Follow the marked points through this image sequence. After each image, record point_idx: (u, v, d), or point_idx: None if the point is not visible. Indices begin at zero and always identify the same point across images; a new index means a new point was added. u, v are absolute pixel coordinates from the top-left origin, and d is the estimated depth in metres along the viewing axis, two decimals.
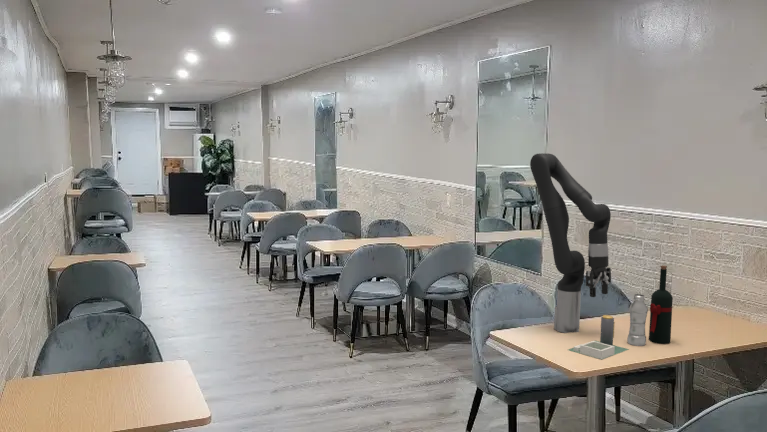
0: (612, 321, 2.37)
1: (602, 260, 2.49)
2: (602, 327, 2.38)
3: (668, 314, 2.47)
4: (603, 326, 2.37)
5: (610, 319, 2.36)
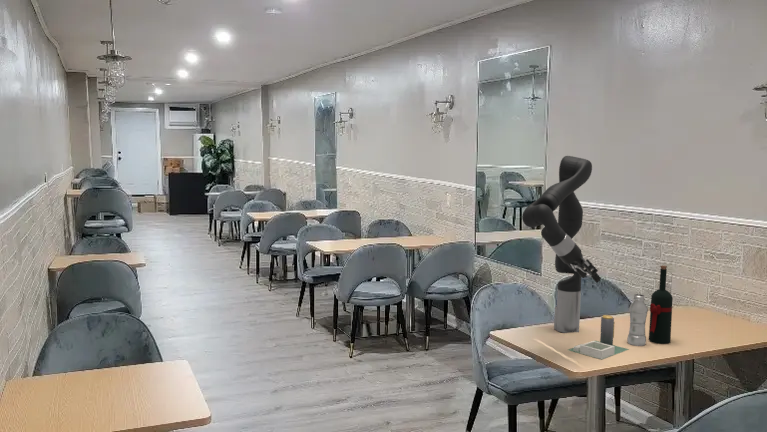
0: (612, 321, 2.37)
1: None
2: (602, 327, 2.38)
3: (668, 314, 2.47)
4: (603, 326, 2.37)
5: (610, 319, 2.36)
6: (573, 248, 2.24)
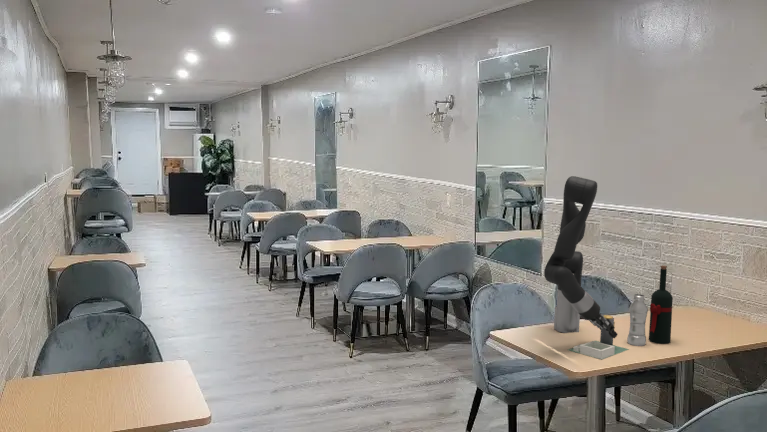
0: (612, 321, 2.37)
1: None
2: None
3: (668, 314, 2.47)
4: None
5: (610, 319, 2.36)
6: (592, 305, 2.32)
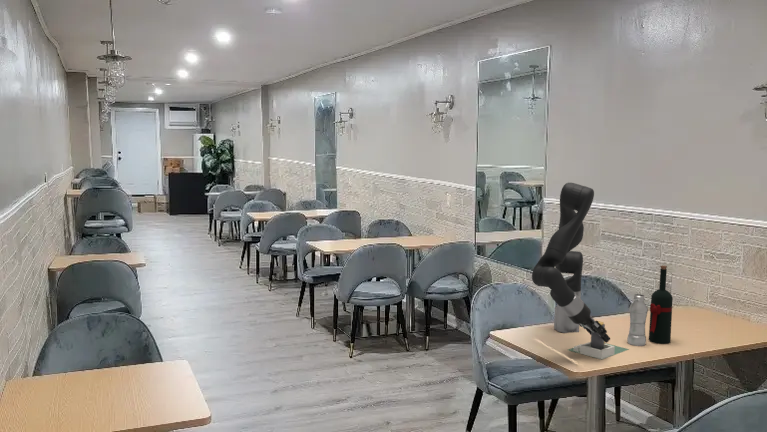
0: None
1: None
2: (592, 333, 2.29)
3: (668, 314, 2.47)
4: (593, 333, 2.29)
5: None
6: (583, 309, 2.23)
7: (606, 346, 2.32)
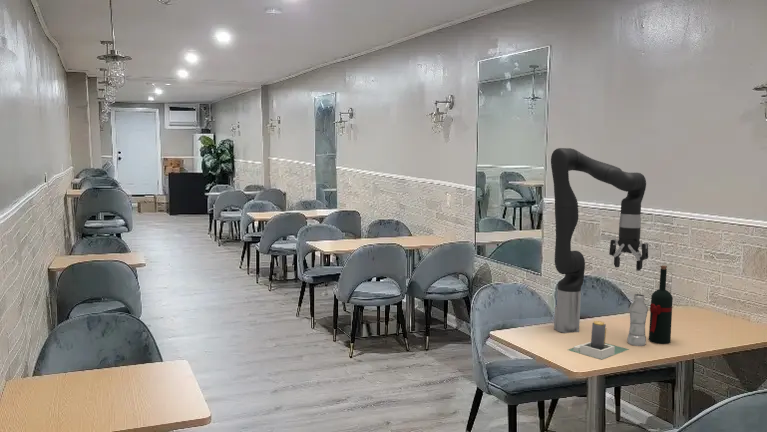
0: (603, 327, 2.28)
1: (620, 230, 2.39)
2: (593, 333, 2.29)
3: (668, 314, 2.47)
4: (593, 333, 2.29)
5: (601, 325, 2.27)
6: (640, 228, 2.37)
7: (606, 346, 2.32)
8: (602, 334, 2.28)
